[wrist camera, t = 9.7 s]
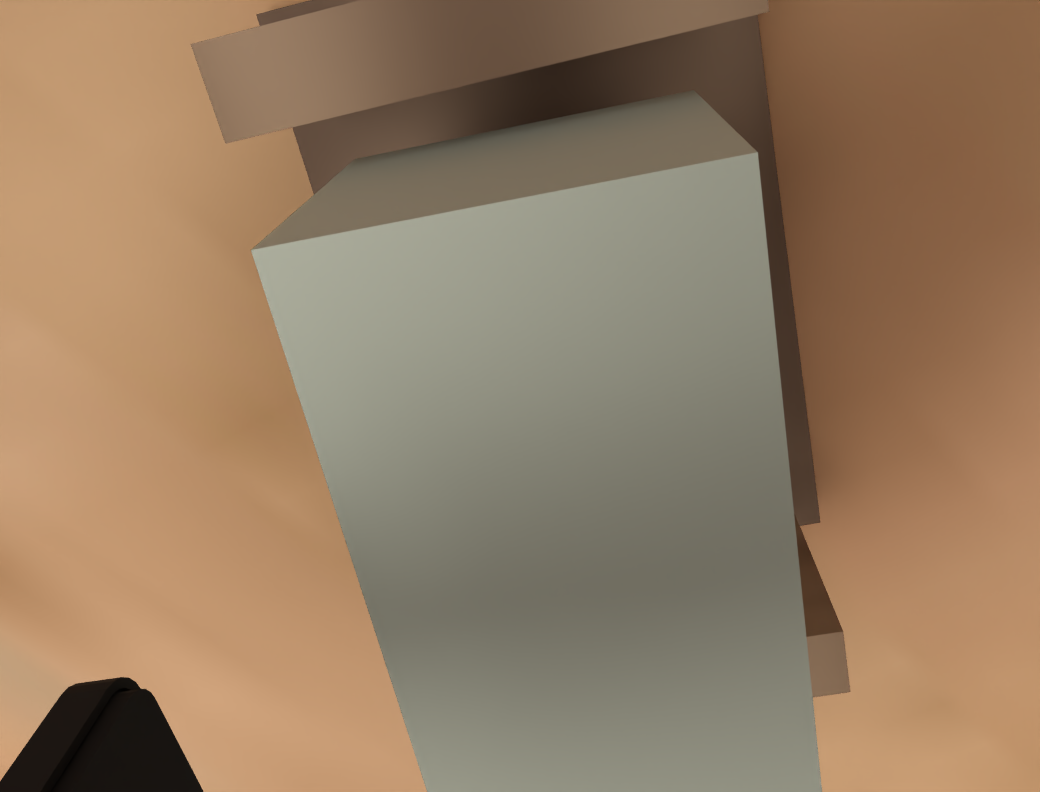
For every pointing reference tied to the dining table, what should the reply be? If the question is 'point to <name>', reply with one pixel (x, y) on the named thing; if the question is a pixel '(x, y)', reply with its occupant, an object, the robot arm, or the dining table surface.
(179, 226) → the dining table surface
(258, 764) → the dining table surface
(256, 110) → the peg stand
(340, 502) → the grey green block
